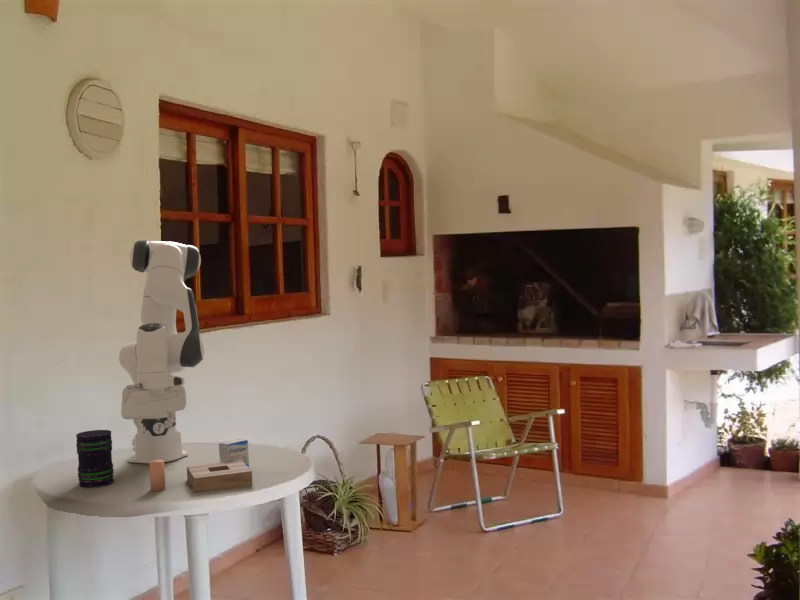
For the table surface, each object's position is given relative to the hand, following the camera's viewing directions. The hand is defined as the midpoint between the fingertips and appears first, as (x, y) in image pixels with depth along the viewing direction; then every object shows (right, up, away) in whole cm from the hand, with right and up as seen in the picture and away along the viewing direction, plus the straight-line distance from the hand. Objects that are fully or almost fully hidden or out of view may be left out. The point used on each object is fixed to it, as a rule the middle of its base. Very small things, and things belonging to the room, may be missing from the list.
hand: (155, 430), depth 237 cm
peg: (+1, -17, +1) cm, 17 cm away
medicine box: (+18, -16, +22) cm, 32 cm away
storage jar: (-20, -17, +10) cm, 28 cm away
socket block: (+17, -16, +6) cm, 24 cm away
